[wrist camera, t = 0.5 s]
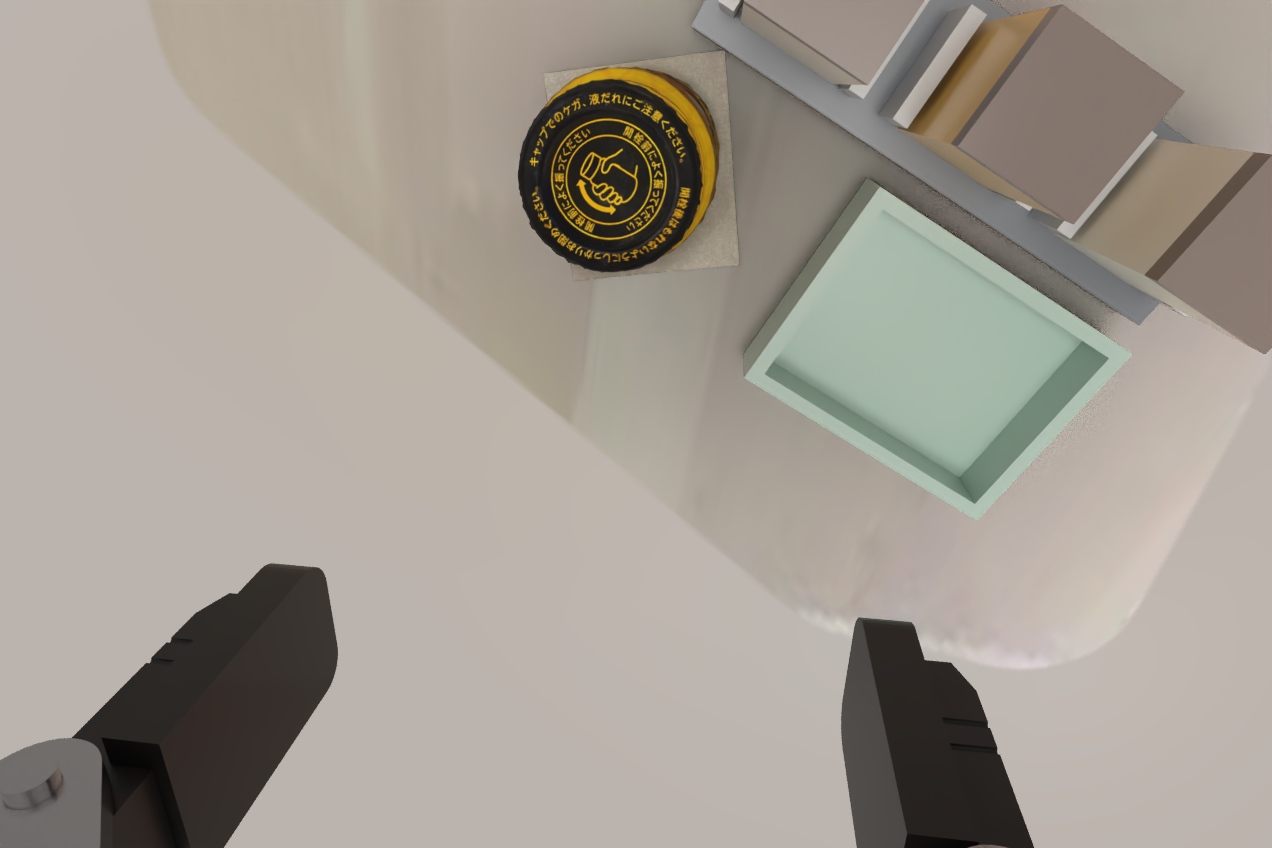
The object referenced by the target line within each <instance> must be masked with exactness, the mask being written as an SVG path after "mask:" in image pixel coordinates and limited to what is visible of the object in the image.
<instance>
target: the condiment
mask: <svg viewBox="0 0 1272 848" xmlns="http://www.w3.org/2000/svg"><path fill="white" fill-rule="evenodd" d="M543 75H544V82H545V89H546V95H547V101H548V103H547V104H546V106H545V107H544V108H543V109H542V110H541V111H540V113H539V114H538V116H537V117H536V118H535V119H534V121H533V123H532V125H531V127H530V128H529V130H528V133H527V136H526V138H525V140H524V142H523V145H522V150H521V154H520V160H519V170H518V181H519V190H520V195H521V197H522V202H523V208H524V210H525V212H526V214H527V216H528V218H529V220H530V225H531V228H532V229H534V230H535V231H536V233H537V234H538V235H539V237H540V238H541V239H542V241H543V242H544V243H545V244H547V245H548V246H549V247H551V248H552V250H553V251H554V252H555V253H556V254H558V255H559V256H562V257H564V258H565V259H566V260H567V261H568V262H569V263H571V269H572V276H573V281H580V280H590V279H597V278H607V277H616V276H627V275H636V274H646V273H657V272H666V271H669V270H670V271H679V270H691V269H700V268H710V267H724V266H734V265H739V252H738V237H737V222H736V210H735V193H734V178H733V163H732V148H731V134H730V119H729V104H728V89H727V75H726V60H725V50H719V51H712V52H704V53H696V54H689V55H681V56H674V57H667V58H659V59H651V60H644V61H636V62H628V63H621V64H613V65H606V66H598V67H590V68H583V69H575V70H567V71H559V72H552V73H544V74H543Z"/></svg>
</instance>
